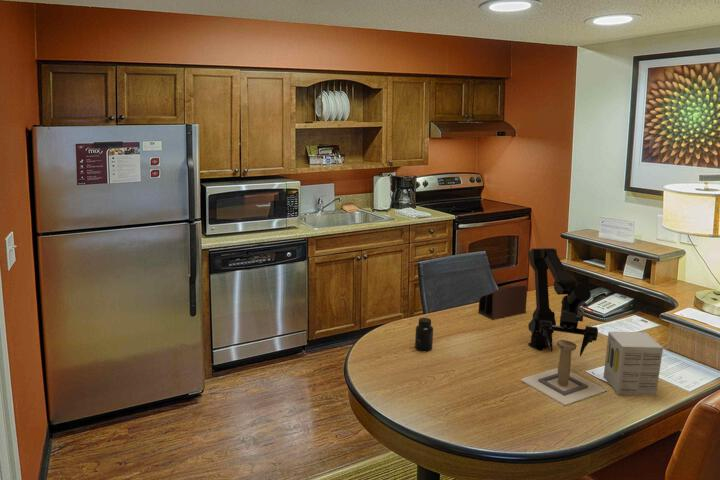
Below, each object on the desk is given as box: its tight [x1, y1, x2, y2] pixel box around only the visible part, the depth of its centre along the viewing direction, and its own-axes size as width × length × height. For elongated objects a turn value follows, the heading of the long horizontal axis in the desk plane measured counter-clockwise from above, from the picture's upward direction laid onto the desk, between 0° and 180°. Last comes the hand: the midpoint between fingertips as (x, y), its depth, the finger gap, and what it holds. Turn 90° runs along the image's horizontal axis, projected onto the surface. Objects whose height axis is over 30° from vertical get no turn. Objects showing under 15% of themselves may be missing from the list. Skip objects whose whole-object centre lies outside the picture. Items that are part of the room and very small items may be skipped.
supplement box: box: [603, 331, 664, 396], centre depth 199 cm, size 13×13×18 cm
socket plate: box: [519, 367, 608, 407], centre depth 200 cm, size 20×20×1 cm
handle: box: [556, 339, 578, 386], centre depth 199 cm, size 5×6×15 cm
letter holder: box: [477, 284, 528, 321], centre depth 267 cm, size 10×20×14 cm, turn 118°
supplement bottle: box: [414, 317, 434, 352], centre depth 228 cm, size 7×7×12 cm
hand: (565, 353), depth 196 cm, fingers open, 9 cm apart
